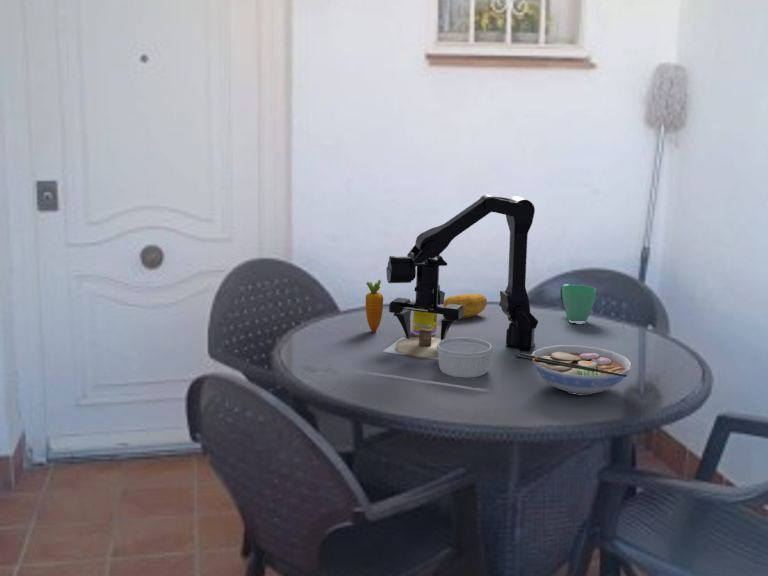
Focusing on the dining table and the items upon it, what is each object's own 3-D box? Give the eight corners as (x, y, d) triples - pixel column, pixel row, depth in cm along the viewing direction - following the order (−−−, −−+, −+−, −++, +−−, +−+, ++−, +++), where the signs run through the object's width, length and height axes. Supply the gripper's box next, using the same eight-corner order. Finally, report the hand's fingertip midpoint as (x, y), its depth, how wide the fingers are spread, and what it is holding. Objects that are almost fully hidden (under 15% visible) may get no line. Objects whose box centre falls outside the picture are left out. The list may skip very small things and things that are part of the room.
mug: (600, 325, 267) (603, 292, 265) (570, 327, 265) (572, 293, 262) (575, 312, 281) (578, 280, 279) (546, 314, 278) (548, 282, 276)
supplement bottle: (436, 338, 251) (438, 292, 248) (412, 337, 251) (413, 291, 248) (435, 331, 258) (437, 286, 255) (412, 330, 258) (413, 285, 255)
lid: (461, 344, 244) (461, 326, 243) (443, 361, 231) (444, 341, 230) (407, 337, 250) (408, 319, 248) (387, 352, 236) (387, 334, 235)
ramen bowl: (645, 386, 217) (648, 353, 215) (616, 416, 198) (619, 380, 196) (545, 367, 229) (547, 335, 227) (508, 393, 210) (510, 359, 208)
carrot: (362, 334, 253) (363, 281, 249) (367, 329, 258) (368, 277, 254) (380, 336, 252) (381, 282, 248) (384, 331, 256) (385, 278, 253)
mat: (465, 347, 243) (465, 346, 243) (449, 363, 231) (449, 361, 231) (401, 339, 250) (401, 337, 250) (382, 353, 237) (382, 351, 237)
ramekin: (446, 383, 216) (447, 354, 215) (428, 365, 229) (429, 338, 227) (499, 379, 220) (500, 351, 219) (478, 362, 232) (479, 335, 231)
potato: (491, 317, 273) (493, 294, 271) (450, 323, 266) (451, 299, 265) (478, 312, 279) (479, 289, 278) (437, 317, 273) (438, 293, 271)
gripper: (471, 279, 240) (468, 337, 244) (404, 272, 247) (402, 328, 250) (458, 288, 230) (456, 348, 234) (388, 280, 236) (387, 339, 240)
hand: (425, 340), depth 240 cm, fingers open, 9 cm apart
